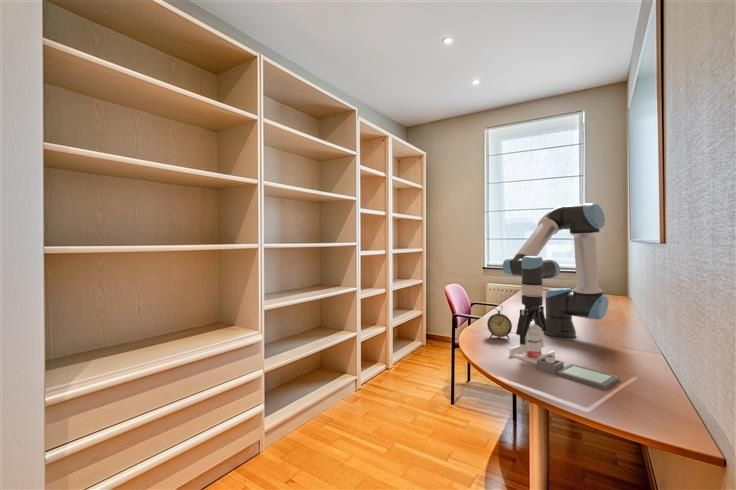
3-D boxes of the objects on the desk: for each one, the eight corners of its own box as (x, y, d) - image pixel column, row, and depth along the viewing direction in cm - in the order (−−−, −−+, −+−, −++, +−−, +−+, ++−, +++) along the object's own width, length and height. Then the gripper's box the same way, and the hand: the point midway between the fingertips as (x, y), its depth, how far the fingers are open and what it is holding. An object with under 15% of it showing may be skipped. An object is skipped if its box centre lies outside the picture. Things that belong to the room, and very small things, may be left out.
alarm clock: (487, 338, 166) (487, 305, 166) (487, 335, 171) (487, 303, 171) (511, 340, 163) (511, 306, 162) (510, 337, 168) (510, 304, 168)
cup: (545, 367, 128) (545, 356, 128) (563, 372, 123) (563, 361, 123) (536, 371, 124) (536, 360, 124) (554, 377, 119) (554, 365, 119)
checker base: (571, 369, 126) (571, 363, 126) (619, 383, 114) (619, 376, 114) (555, 377, 119) (555, 371, 119) (604, 392, 107) (604, 385, 107)
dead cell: (547, 367, 126) (547, 353, 126) (556, 369, 123) (556, 355, 123) (543, 369, 124) (543, 355, 124) (552, 371, 121) (552, 357, 121)
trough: (524, 352, 145) (524, 343, 145) (554, 361, 134) (554, 351, 134) (509, 358, 138) (509, 348, 138) (540, 367, 128) (540, 357, 128)
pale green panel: (573, 368, 124) (573, 365, 124) (612, 379, 114) (612, 376, 114) (561, 374, 118) (561, 371, 118) (601, 386, 109) (601, 383, 109)
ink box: (542, 358, 132) (542, 328, 132) (528, 358, 133) (528, 327, 133) (535, 351, 140) (535, 322, 140) (522, 350, 141) (522, 322, 141)
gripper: (538, 291, 146) (538, 341, 146) (506, 296, 132) (506, 352, 132) (556, 293, 140) (556, 346, 140) (524, 299, 126) (524, 358, 126)
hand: (531, 349), depth 136 cm, fingers open, 11 cm apart
